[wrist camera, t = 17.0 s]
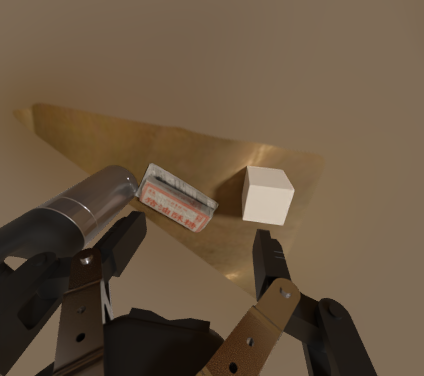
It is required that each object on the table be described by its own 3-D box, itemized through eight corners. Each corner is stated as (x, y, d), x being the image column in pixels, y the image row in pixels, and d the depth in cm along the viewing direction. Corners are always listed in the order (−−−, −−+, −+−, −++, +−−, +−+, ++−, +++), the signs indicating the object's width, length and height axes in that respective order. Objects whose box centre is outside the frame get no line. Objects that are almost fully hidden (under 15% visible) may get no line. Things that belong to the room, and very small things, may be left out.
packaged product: (218, 213, 39) (196, 241, 43) (220, 201, 43) (199, 228, 48) (142, 169, 36) (126, 203, 41) (152, 161, 40) (137, 192, 45)
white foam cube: (274, 199, 40) (282, 225, 33) (241, 195, 41) (242, 219, 33) (282, 169, 37) (294, 190, 29) (247, 165, 37) (249, 184, 30)
